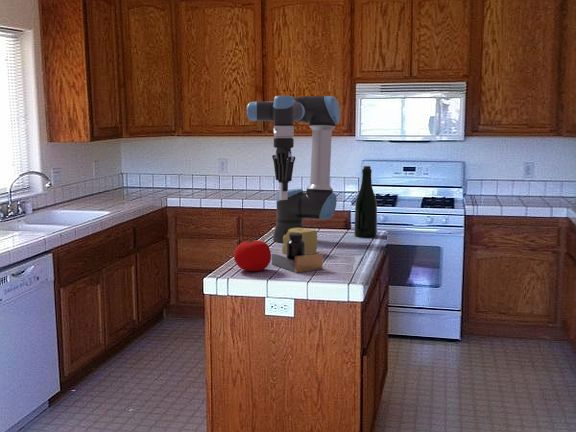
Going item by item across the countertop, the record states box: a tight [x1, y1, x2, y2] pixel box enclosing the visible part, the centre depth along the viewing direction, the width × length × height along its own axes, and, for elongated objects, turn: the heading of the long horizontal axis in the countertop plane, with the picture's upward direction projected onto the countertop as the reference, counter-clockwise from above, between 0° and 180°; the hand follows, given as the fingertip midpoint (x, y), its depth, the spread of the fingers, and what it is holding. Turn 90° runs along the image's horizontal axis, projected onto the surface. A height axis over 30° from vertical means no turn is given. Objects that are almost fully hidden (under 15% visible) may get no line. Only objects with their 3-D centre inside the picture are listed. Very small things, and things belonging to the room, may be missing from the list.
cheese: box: [281, 228, 318, 255], centre depth 281 cm, size 10×11×10 cm
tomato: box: [233, 238, 272, 272], centre depth 250 cm, size 12×14×11 cm
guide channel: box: [271, 252, 324, 274], centre depth 256 cm, size 17×11×6 cm, turn 32°
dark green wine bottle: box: [353, 165, 378, 239], centre depth 320 cm, size 10×10×33 cm
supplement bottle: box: [286, 233, 305, 260], centre depth 256 cm, size 7×7×12 cm
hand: (283, 199), depth 261 cm, fingers closed
